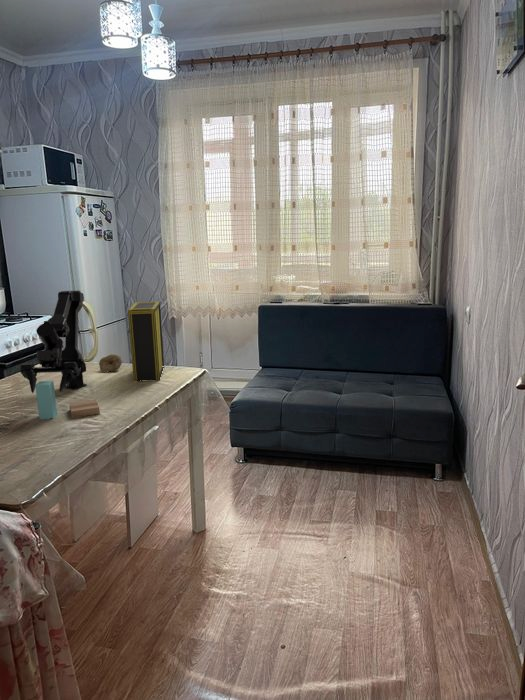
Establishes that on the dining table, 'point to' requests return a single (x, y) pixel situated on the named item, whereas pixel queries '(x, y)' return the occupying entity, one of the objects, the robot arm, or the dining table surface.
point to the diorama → (146, 340)
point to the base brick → (84, 408)
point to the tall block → (46, 399)
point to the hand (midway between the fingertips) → (46, 391)
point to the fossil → (110, 363)
